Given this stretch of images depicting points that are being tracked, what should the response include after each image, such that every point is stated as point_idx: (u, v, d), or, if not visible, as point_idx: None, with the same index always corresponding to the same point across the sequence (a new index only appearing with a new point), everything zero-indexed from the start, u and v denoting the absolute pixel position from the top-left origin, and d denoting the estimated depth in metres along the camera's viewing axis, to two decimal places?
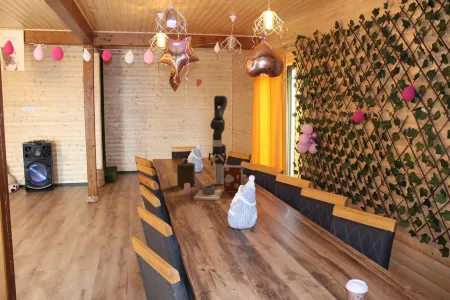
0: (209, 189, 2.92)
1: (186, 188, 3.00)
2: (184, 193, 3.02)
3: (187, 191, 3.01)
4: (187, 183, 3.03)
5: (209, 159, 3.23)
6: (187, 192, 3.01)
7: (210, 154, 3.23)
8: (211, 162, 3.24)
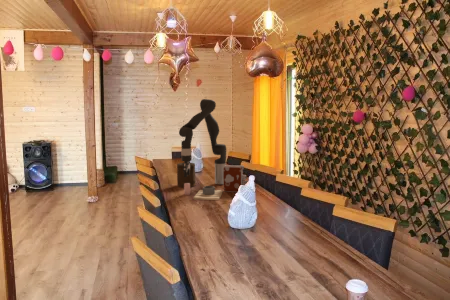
0: (209, 189, 2.92)
1: (186, 188, 3.00)
2: (184, 193, 3.02)
3: (187, 191, 3.01)
4: (187, 183, 3.03)
5: (186, 170, 2.94)
6: (187, 192, 3.01)
7: None
8: (186, 173, 2.96)
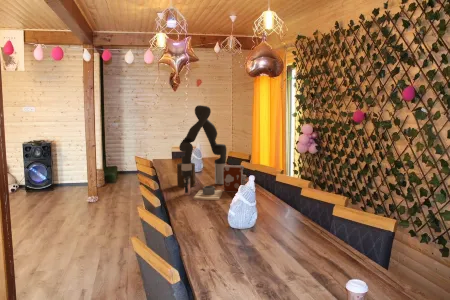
0: (209, 189, 2.92)
1: None
2: (184, 193, 3.02)
3: None
4: None
5: (187, 186, 2.97)
6: None
7: None
8: (187, 189, 2.99)
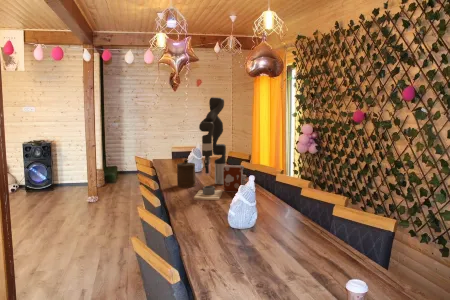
0: (209, 189, 2.92)
1: None
2: None
3: None
4: None
5: (208, 166, 2.90)
6: (207, 173, 2.93)
7: None
8: (207, 169, 2.92)
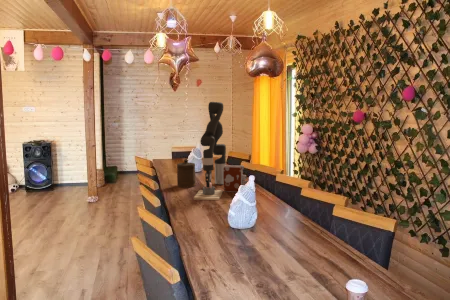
0: (209, 189, 2.92)
1: (208, 187, 2.94)
2: None
3: None
4: (209, 182, 2.97)
5: (208, 180, 2.90)
6: None
7: None
8: (208, 183, 2.92)
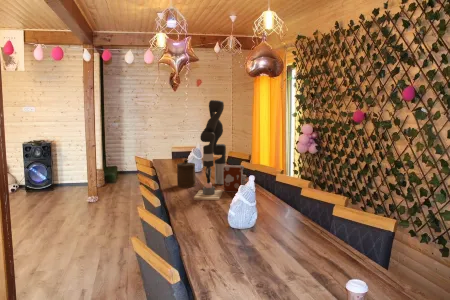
0: (209, 189, 2.92)
1: (208, 187, 2.94)
2: None
3: None
4: None
5: (209, 176, 2.93)
6: None
7: None
8: (209, 179, 2.94)
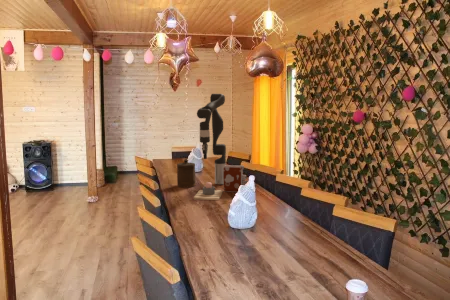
0: (209, 189, 2.92)
1: (208, 187, 2.94)
2: None
3: None
4: (209, 182, 2.97)
5: (206, 152, 3.00)
6: None
7: None
8: (205, 155, 3.02)
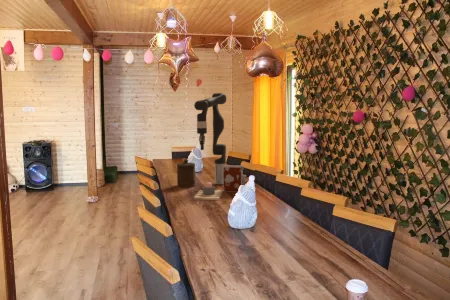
0: (209, 189, 2.92)
1: (208, 187, 2.94)
2: None
3: None
4: (209, 182, 2.97)
5: (203, 143, 3.06)
6: None
7: None
8: (203, 146, 3.08)
